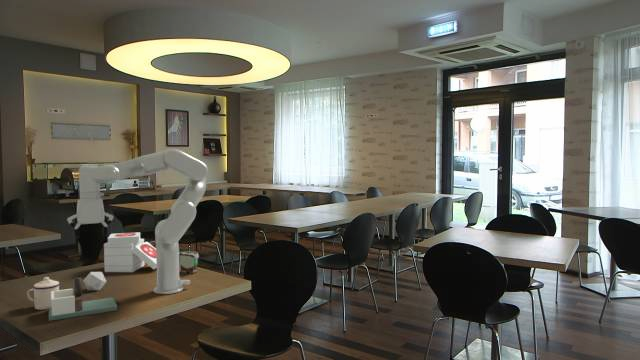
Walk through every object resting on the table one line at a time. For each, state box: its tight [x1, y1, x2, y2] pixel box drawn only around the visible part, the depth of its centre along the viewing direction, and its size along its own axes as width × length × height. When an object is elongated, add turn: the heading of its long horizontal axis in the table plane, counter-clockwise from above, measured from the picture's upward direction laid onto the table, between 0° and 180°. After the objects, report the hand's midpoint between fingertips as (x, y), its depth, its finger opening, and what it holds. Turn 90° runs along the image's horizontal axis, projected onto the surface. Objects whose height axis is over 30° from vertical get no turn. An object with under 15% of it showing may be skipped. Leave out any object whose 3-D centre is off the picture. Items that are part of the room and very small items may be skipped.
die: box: [82, 271, 107, 291], centre depth 209 cm, size 8×9×10 cm
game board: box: [48, 288, 118, 322], centre depth 181 cm, size 23×14×8 cm, turn 120°
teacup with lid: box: [26, 276, 61, 311], centre depth 186 cm, size 12×9×12 cm
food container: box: [179, 250, 200, 274], centre depth 242 cm, size 12×6×10 cm, turn 58°
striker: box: [73, 277, 83, 310], centre depth 180 cm, size 2×10×11 cm, turn 30°
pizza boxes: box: [103, 231, 157, 273], centre depth 249 cm, size 19×30×18 cm, turn 88°
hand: (91, 237), depth 193 cm, fingers open, 9 cm apart
